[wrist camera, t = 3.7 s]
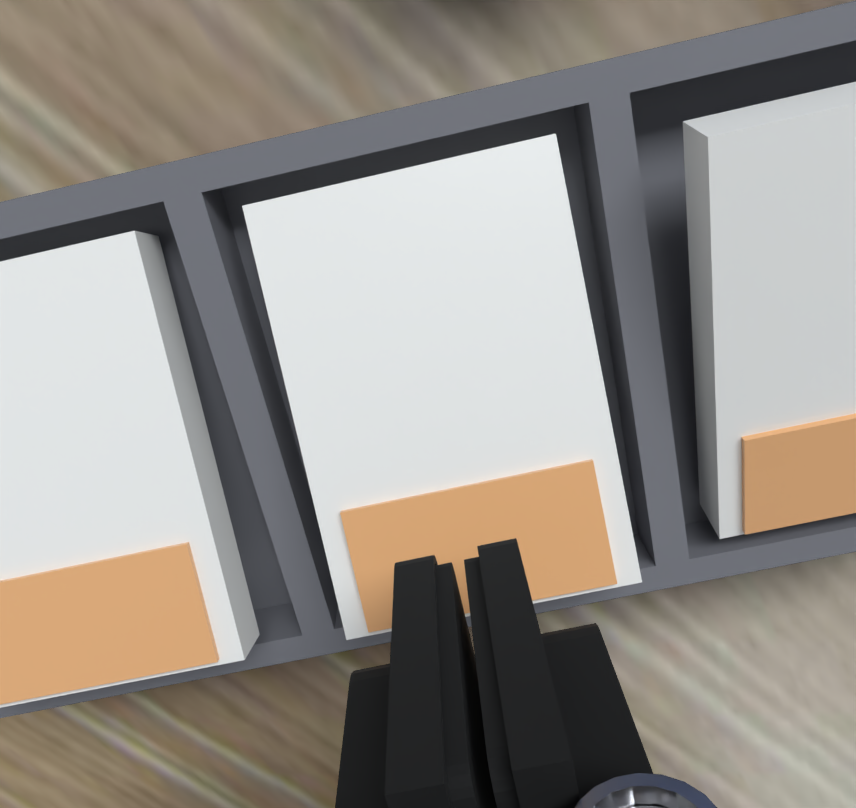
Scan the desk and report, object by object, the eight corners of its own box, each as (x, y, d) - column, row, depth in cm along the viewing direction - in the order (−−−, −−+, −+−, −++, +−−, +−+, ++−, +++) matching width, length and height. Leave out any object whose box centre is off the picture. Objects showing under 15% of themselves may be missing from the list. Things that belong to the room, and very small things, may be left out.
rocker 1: (163, 236, 13) (131, 229, 12) (262, 629, 14) (243, 662, 13) (-106, 299, 14) (-166, 298, 12) (6, 680, 14) (-39, 718, 13)
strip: (1208, -79, 14) (1465, -146, 11) (1167, 389, 17) (1360, 456, 14) (-125, 235, 16) (-280, 266, 12) (43, 616, 19) (-44, 729, 15)
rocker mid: (546, 149, 13) (557, 131, 12) (626, 558, 14) (643, 584, 12) (261, 214, 13) (239, 205, 12) (355, 611, 14) (345, 642, 13)
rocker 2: (1020, 40, 11) (1092, 51, 10) (955, 445, 15) (1003, 487, 14) (678, 118, 11) (711, 139, 10) (695, 497, 15) (721, 543, 14)
